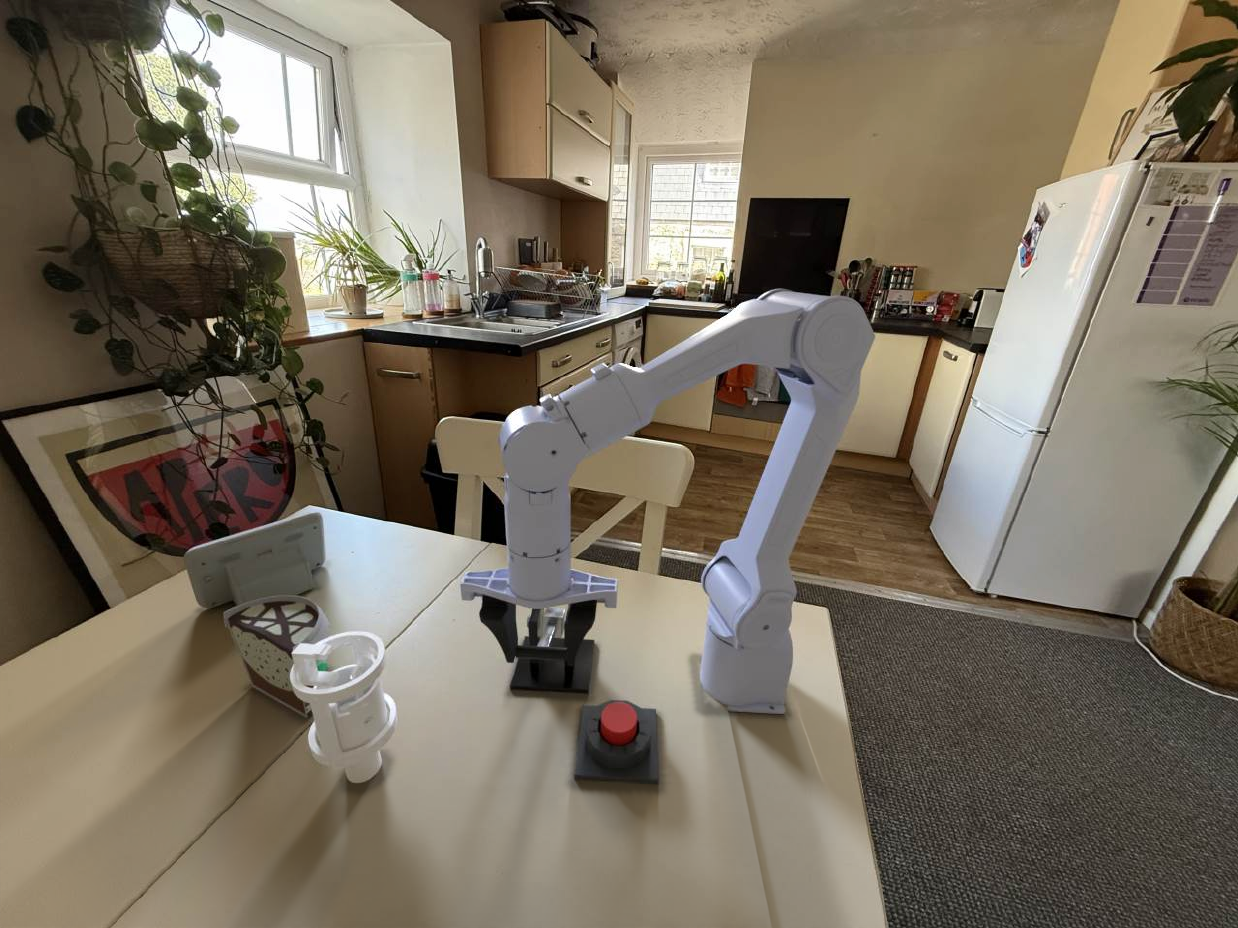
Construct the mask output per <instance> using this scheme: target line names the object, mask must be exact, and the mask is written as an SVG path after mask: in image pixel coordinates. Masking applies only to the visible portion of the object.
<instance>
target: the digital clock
mask: <svg viewBox="0 0 1238 928" xmlns="http://www.w3.org/2000/svg"><path fill="white" fill-rule="evenodd" d="M325 542H326V541H325V526H324V518H323V515H322V513H320V512H317V511H309V512H304V513H301V514H297V515H294V516H290V517H288V518H283V519H281V520H277V521H273V522H271V523H270V522H269V523H267V524H265V525H261V526H257V527H254V528H251V529H247V530H244V531H241V532H238V533H235V534H231V535H228V536H224V537H221V538H218V539H215V540H211V541H207V542H205V543H201V544H198V545H196V546H193V547H191V548H190V549H188V550H187V551H186V552H185V554H183V563H184V566H185V569H186V572H187V576H188V578H189V582H190V585H191V588H192V591H193V594H194V598H195V601H196V602H197V605H198V606H200V607H201V608H204V609H212V608H215V607H219V606H222V605H224V604H227V603H229V602H232V601H233V602H234V604H235V605H236V606H239V605H241V604H244V603H247V602H250V601H253V600H257V599H261V598H266V597H271V596H279V595H296V596H299V595H300V594H303V593H306V592H308V591H311V590H312V589H316V586H315V582H314V578H313V573H312V571H314V570H316V569H319V568H320V567H322V566H323V565H324V564H325V562H326V558H327V557H326V544H325Z"/></svg>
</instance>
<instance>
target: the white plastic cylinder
mask: <svg viewBox="0 0 1238 928" xmlns="http://www.w3.org/2000/svg"><path fill="white" fill-rule="evenodd" d="M341 645H345V646H353V650H354V652H355V658H356V663H354V664H348V665H344V666H341V667H339V668H336V669H334V670H331V671H329V670H328V671H318V669H317V665H316V661H315V659H320V660H326V659H327V658H328V657H329V656H330V655H331V653H332V652H333V651H334V650H336V649H338V648H339V647H340V646H341ZM370 648H372V649H374V650H375V651H376V652H377V656H376V655H375V653H371V649H370ZM292 657H293V661H294V664H293V666H292V668H291V672H290V680H291V684H292V687H293V690H294V693H295V695H296V696H297V697H298V698H299V699H301V700H302V701H304V702H307V703H310V706H311V709H312V713H313V714H312V716H313V722H312V724H311V725H310V727H309V731H308V736H307V741H308V745H309V749H310V752H311V755H312V757H313V759H314V760H315V761H316V762H317V763H319V764H320V765H323V766H326V767H330V768H340V767H341V768H344V772H345V775H346V778H347V780H348V781H349V782H350V783H353V784H361V783H364V782H367V781H369V780H371V779H372V778H373V777H374V776H376V775H377V774H378V772H379V771H380V770H381V767H382V764H383V760H382V755H381V751H380V750H381V749H382V748H383V747H384V746H385V745H386V744H387V743H388V742H389V741H390V739H391V738H392V736H393V735H394V733H395V731H396V728H397V724H398V712H397V706H396V703H395V701H394V699H393V697H391V696H390V694H388V693H386V692H384V687H383V683H382V678H381V675H382V673H383V672H384V669H385V667H386V664H387V653H386V647H385V644H384V641H383V640H382V639H381V638H380V636H378V635H376V634H375V633H372V632H368V631H363V630H361V631H360V630H353V631H345V632H341V633H337V634H334V635H331V636H327V638H326V639H323V640H321V641H319V642H318V643H316V644H305V643H300V644H299V645H298V646H297V647H296V648H295V649H294V651H293V652H292ZM304 685H310V686H314V687H313V688H309V687H307V686H304ZM388 711H389V714H388ZM318 741H319V744H320V746H319V745H318Z"/></svg>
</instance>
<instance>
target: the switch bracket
mask: <svg viewBox="0 0 1238 928" xmlns="http://www.w3.org/2000/svg"><path fill="white" fill-rule="evenodd" d="M570 605H571V604H567V607H566V611H565V622H564V631H563V637H561V638H554V640H553V643H552V645H551V647H562V648H567V659H566V661H563V660H544V659H526V658H516V659H517V660H516V663H515V665H514V670H513V672H512V676H511V679H510V683H509V691H510V690H511V691H512V690H513V691H529V692H547V693H548V692H549V693H550V692H551V693H566V694H567V693H568V694H582V695H583V694H585V695H589V693H590V687H591V686H590V685H591V678H592V677H591V676H592V668H593V658H594V650H595V639H587V638H584V639H583V641H582V643H581V645H580V647H579V650H578V653H577V656H576V663H575V666H568V650H569V634H568V625H567V620H568V615H569V609H570ZM544 613H545V608H542V609H532V608H531V611H530V613H529V614H528V615H527V619H526V627H527V629H528V632H527V633H528V635H524V636H523V639H522V642H521V645H524V646H538V643H539V641H540V639H541V636H542V622H543V615H544Z"/></svg>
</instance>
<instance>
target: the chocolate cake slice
mask: <svg viewBox="0 0 1238 928" xmlns="http://www.w3.org/2000/svg"><path fill="white" fill-rule="evenodd" d="M222 614H223V616H222V618H223V622H224V623H223V624H224V627H225V628H227V627H228V629H229V632H230V635H231V637H232V639H233V642H234V644H235V647H236V649H237V652H238V655H239V657H240V660H241V662H242V664H243V667H244V670H245V673H246V674H247V677H248V680H249V682H250V685H251V687H252V688H253V689H255V690H257V691H259V692H261V693H263V694H264V695H266V696H268V697H269V698H271V699H272V700H274V701H276V702H278V703H280V704H281V705H283V706H285V707H287V708H288V709H290V710H292V711H294V712H296V713H297V714H299V715H301V716H302V717H303V718H305V719H309V718H310V717H311V716H313V713H312V709H311V706H310V703H307V702H304V701H302V700H301V699H299V698H298V697H297V696H296V695H295V693H294V690H293V687H292V684H291V680H290V672H291V668H292V666H293V664H294V661H293V657H292V652H293V651H294V649H295V648H296V647H297V646H298V645H299V644H300V643H305V644H316V643H318V642H319V641H321V640H323V639H326V638H328V637H329V633H330V622H329V620H328V618H327V615H326V614H325V613H324V611H323V609H322V608H321V607H320V606H319V605H318V604H317V603H316V602H314V600H312V599H310V598H308V597H305V596H301V595H279V596H271V597H266V598H261V599H257V600H253V601H250V602H247V603H244V604H241V605H239V606H237V605H236V606H233V607H232V608H230V609H227V610H226V611H223V612H222ZM315 661H316V665H317V669H318V671H328V672H329V668H328V660H327V658H326V660H320V659H315ZM304 686H307V687H309V688H313V687H314V686H310V685H304Z"/></svg>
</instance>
